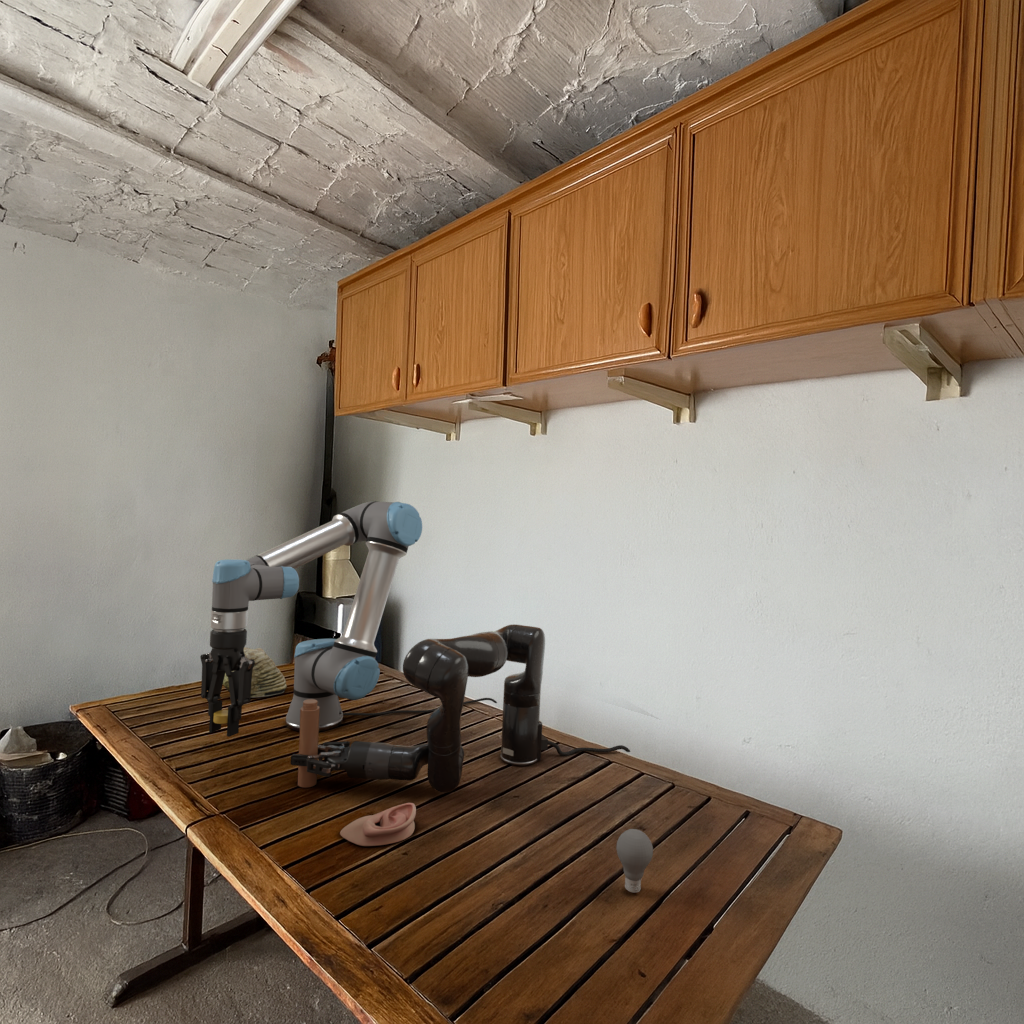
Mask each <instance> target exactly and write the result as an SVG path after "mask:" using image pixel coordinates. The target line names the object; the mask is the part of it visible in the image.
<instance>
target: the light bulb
mask: <svg viewBox="0 0 1024 1024" xmlns="http://www.w3.org/2000/svg"><path fill="white" fill-rule="evenodd" d="M615 849H616V854H617V857H618V859H619V861H620V863H621V865H622V867H623V873H624V874H623V875H624V876H625V878H624V888H625V890H627V891H628V892H630V893H634V894H635V893H639V892H640V891H641V889H642V887H641V886H642V879H643V877H644V875H645V871H646V868H647V867H648V866H649V864H650V863H651V861H652V859H653V855H654V847H653V843H652V841H651V838H649V836H648V835H647V834H646V833H645V832H643V831H642V830H641V829H636V828H629V829H627V830H625V831H623V832H622V833H621V834H620V835H619V837H618V839H617V841H616V847H615Z"/></svg>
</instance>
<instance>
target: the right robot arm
mask: <svg viewBox="0 0 1024 1024" xmlns="http://www.w3.org/2000/svg"><path fill="white" fill-rule="evenodd" d="M545 651H546V635H545V631H544V630H543V628H541V627H537V626H530V625H523V624H514V623H513V624H508V625H505V626H503V627H501V628H498V629H497V630H490V631H489V630H488V631H482V632H477V633H472V634H468V635H463V636H457V637H453V638H426V639H423V640H421V641H419V642H417V643H416V644H415V645H413V646H412V647H411V648H410V650H409V651H408V652H407V653H406V655H405V657H404V659H403V662H402V673H403V676H404V679H406V681H407V682H409V683H410V684H411V685H412V686H414V687H415V688H416V689H417V688H418V689H419V690H421V691H423V692H425V693H427V694H429V695H430V696H432V697H435V698H437V699H439V700H440V702H441V704H440V705H439V706H438V707H437V708H435V709H436V710H435V711H434V712H431V714H430V715H429V717H428V719H427V723H426V742H427V743H421V744H416V745H399V744H391V743H386V742H375V741H359V740H355V741H353V742H352V743H351V741H348V740H346V741H329V742H328V741H326V742H325V741H324V742H322V744H318V755H302V754H299V753H293V754H292V755H291V756H290V765H291V766H297V767H298V766H307V772H310V773H314V774H317V776H323V777H326V778H330V777H331V776H332V772H338V771H339V772H340V771H345V772H346V775H347V777H348V778H350V779H363V780H374V781H375V780H376V781H383V780H384V781H385V780H395V781H410V782H411V781H415V780H416V779H417V777H418V776H419V774H420V771H421V770H422V768H423V767H425V766H426V765H427V780H428V783H429V786H430V787H431V788H432V789H433V790H435V791H436V792H438V793H442V794H443V793H444V794H447V793H451V792H453V791H455V790H456V789H457V788H458V787H459V785H460V783H461V779H462V774H463V773H462V772H463V766H464V761H465V750H464V748H463V746H462V731H461V728H462V727H461V723H462V722H461V720H462V714H463V707H464V705H463V703H464V702H465V697H466V691H467V685H468V680H469V679H468V678H481V677H485V676H488V675H491V674H495V673H496V672H499V670H501V669H502V668H503V667H504V665H505V664H506V662H513V663H518V664H524V665H525V668H524V671H521V672H518V673H517V672H516V673H513V674H510V675H507V676H506V677H505V679H504V682H503V701H502V703H503V704H502V721H501V722H502V724H501V745H500V760H501V761H502V762H504V763H506V764H507V765H508V764H509V765H512V766H520V767H521V766H530V765H534V764H536V763H537V762H541V761H542V751H547V750H548V749H549V748H548V747H549V746H551V747H553V748H554V749H555V750H556V752H557V754H558V755H560V756H563V757H567V756H571V755H574V754H577V753H581V752H587V753H589V752H590V753H599V754H601V753H602V754H609V753H612V752H615V751H618V750H623V751H625V752H626V753H631V749H629V748H628V747H627V746H625V745H623V744H622V745H621V744H619V745H615V746H612V747H608V748H597V747H584V746H583V747H576V748H573V749H571V750H568V751H562V749H561V748H560V745H559V744H558V743H556V742H554V741H551V740H549V739H548V738H547V736H545V735H544V734H543V722H542V721H541V720H540V713H541V693H542V681H543V673H544V662H545V661H544V660H545ZM315 759H318V760H315ZM314 768H315V769H314Z"/></svg>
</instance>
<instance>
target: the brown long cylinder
mask: <svg viewBox="0 0 1024 1024" xmlns="http://www.w3.org/2000/svg"><path fill="white" fill-rule="evenodd" d="M317 703H318V701H317V700H315V699H308V700H304V701H303V707H301V708H300V731H299V732H298V733H299V735H298V736H299V737H298V739H299V740H298V754H302V755H318V746H319V736H320V731H319V712H320V707H319V706H317ZM315 760H318V759H315ZM314 769H315V768H314ZM317 783H318V774H314V773H310V772H307V766H297V786H298V787H300V788H304V789H305V788H311V787H314V786H315V785H317Z"/></svg>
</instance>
